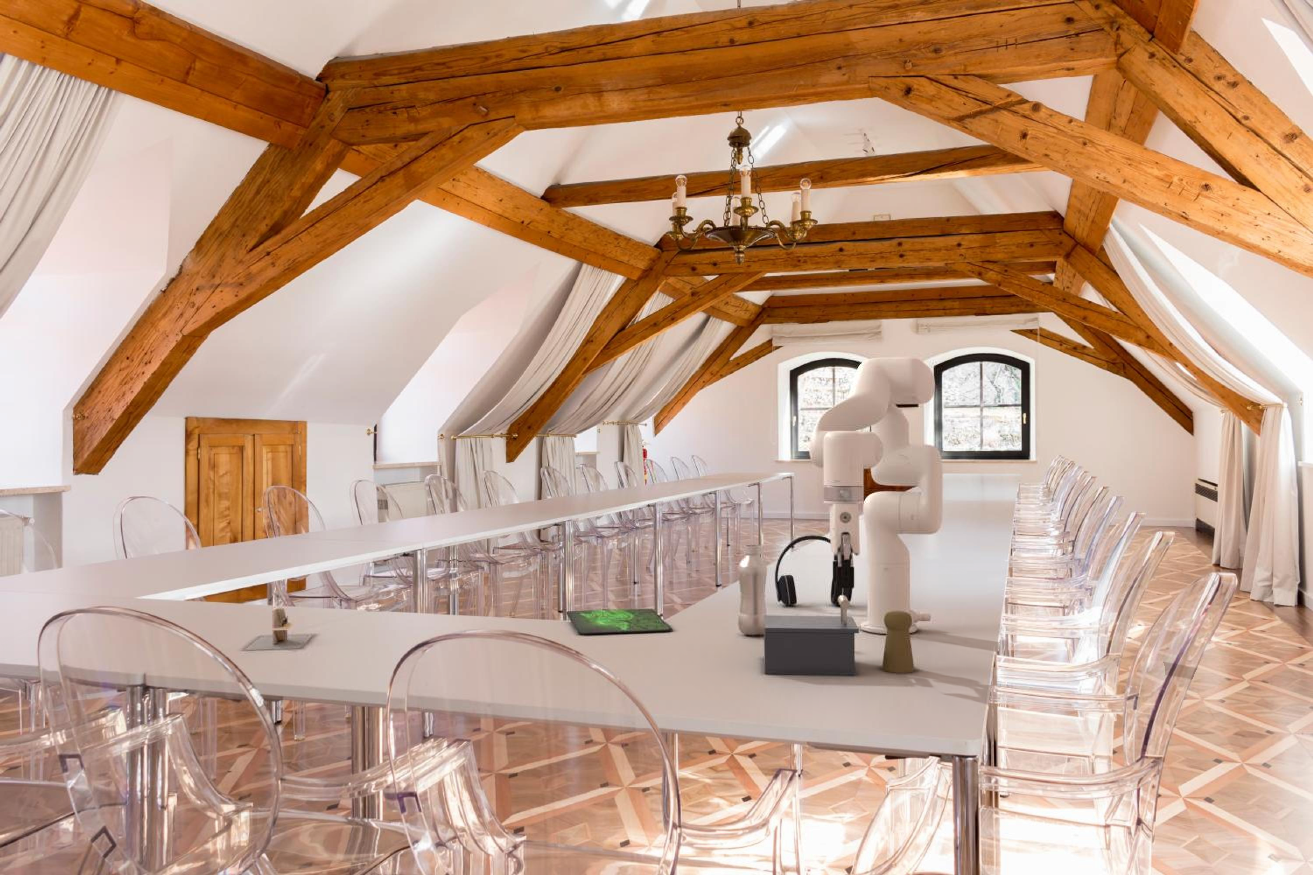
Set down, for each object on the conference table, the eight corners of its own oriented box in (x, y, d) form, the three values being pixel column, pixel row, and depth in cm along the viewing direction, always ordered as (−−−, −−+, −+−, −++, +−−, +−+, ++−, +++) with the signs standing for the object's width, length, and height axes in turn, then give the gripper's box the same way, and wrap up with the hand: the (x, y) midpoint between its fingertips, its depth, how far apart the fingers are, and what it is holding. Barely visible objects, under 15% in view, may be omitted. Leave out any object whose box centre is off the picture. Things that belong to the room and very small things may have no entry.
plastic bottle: (766, 638, 230) (766, 547, 230) (736, 637, 231) (735, 546, 231) (769, 632, 236) (769, 544, 236) (739, 631, 237) (739, 543, 237)
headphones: (776, 607, 270) (776, 537, 270) (773, 603, 277) (773, 534, 277) (854, 607, 270) (853, 536, 270) (849, 603, 277) (849, 534, 277)
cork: (877, 665, 202) (877, 609, 202) (908, 665, 202) (908, 608, 202) (887, 673, 196) (887, 614, 196) (918, 672, 196) (918, 613, 196)
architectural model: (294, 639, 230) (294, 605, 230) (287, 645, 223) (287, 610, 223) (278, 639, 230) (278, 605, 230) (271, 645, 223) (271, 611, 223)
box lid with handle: (852, 620, 207) (851, 592, 207) (858, 633, 194) (858, 603, 194) (763, 619, 209) (763, 591, 209) (764, 631, 195) (764, 602, 195)
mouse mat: (674, 631, 237) (674, 626, 237) (577, 635, 233) (577, 630, 233) (651, 611, 264) (651, 607, 264) (564, 614, 260) (564, 610, 260)
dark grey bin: (848, 659, 207) (847, 620, 207) (854, 675, 194) (854, 633, 194) (764, 658, 209) (763, 619, 209) (764, 673, 195) (764, 632, 195)
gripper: (868, 497, 192) (868, 591, 192) (858, 493, 209) (858, 579, 209) (826, 497, 192) (826, 590, 192) (820, 493, 210) (820, 578, 209)
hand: (843, 584), depth 201 cm, fingers open, 9 cm apart
